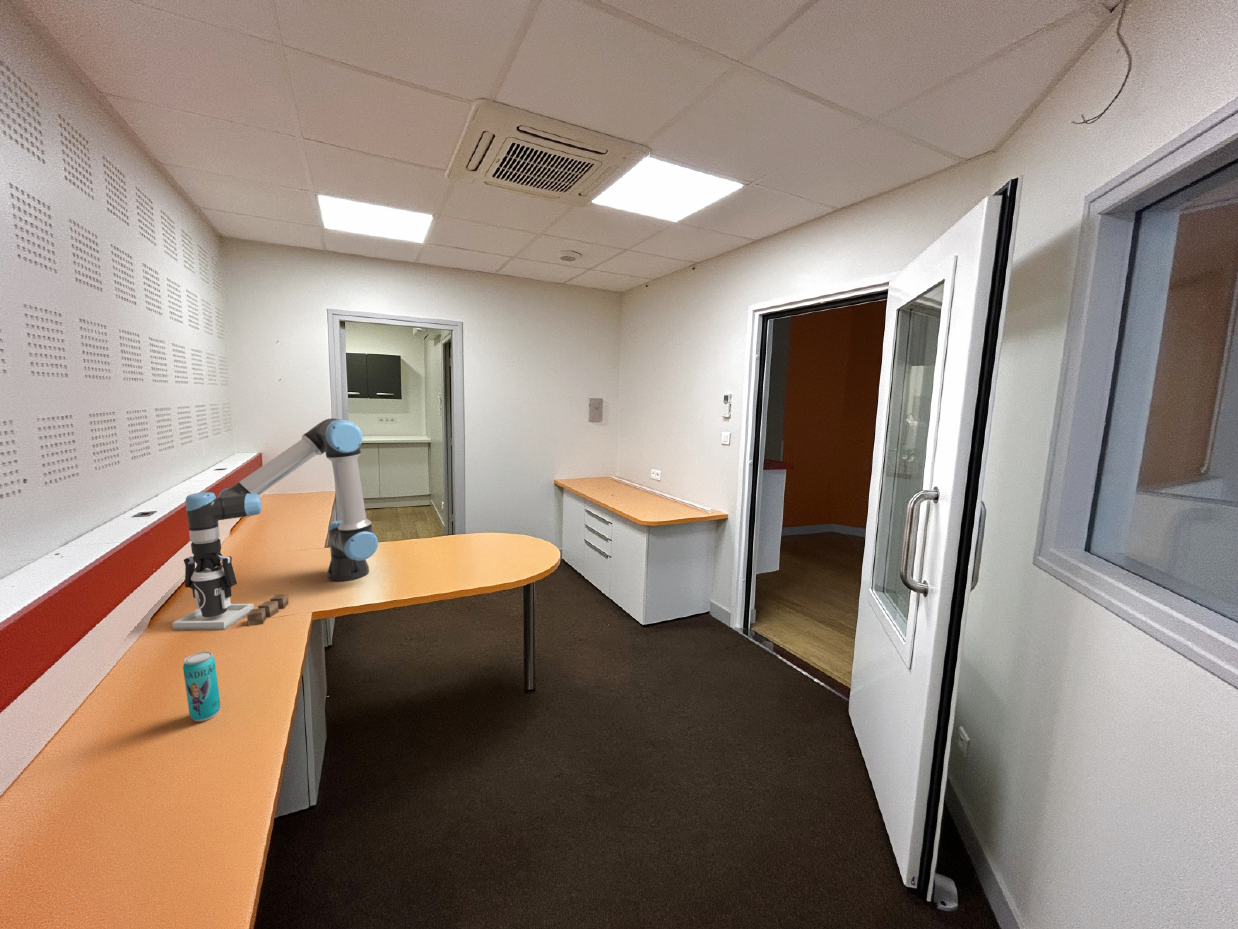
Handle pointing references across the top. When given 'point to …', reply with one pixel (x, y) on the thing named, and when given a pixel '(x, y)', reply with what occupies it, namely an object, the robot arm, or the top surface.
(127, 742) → the top surface
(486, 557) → the top surface
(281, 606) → the block
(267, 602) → the block
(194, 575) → the coffee cup
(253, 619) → the block
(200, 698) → the beverage can
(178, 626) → the tray
